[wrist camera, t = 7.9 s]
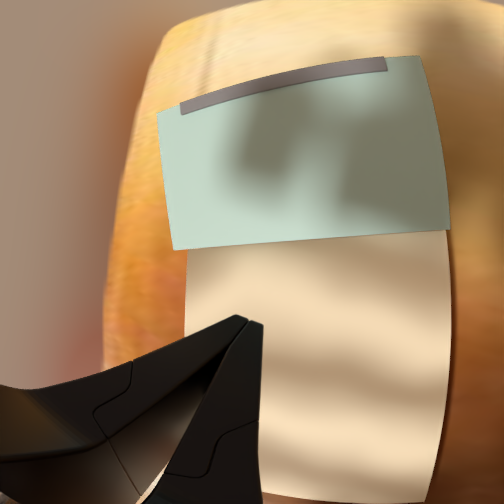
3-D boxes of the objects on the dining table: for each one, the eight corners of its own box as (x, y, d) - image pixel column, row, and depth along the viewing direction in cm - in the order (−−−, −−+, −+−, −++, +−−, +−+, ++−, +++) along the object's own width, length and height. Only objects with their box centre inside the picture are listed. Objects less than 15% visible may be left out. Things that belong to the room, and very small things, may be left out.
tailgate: (451, 229, 13) (420, 54, 11) (171, 250, 19) (154, 112, 18) (444, 226, 14) (417, 65, 13) (186, 246, 21) (169, 116, 19)
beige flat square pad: (423, 490, 12) (424, 501, 11) (198, 464, 19) (187, 471, 18) (441, 236, 16) (445, 230, 14) (200, 253, 22) (187, 249, 21)
